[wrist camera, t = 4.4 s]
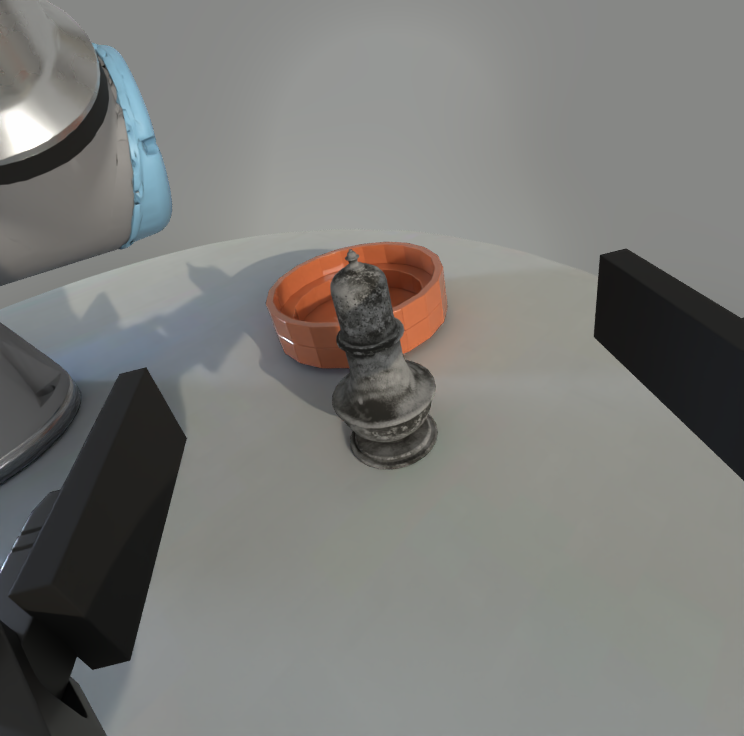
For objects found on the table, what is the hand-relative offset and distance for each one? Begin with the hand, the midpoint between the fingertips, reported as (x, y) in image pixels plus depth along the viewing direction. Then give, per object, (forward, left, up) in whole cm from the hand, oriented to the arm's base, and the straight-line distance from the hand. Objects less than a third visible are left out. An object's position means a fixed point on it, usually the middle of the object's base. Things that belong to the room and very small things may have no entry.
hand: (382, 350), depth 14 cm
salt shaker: (-6, +7, -13) cm, 16 cm away
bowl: (-16, +18, -13) cm, 27 cm away
